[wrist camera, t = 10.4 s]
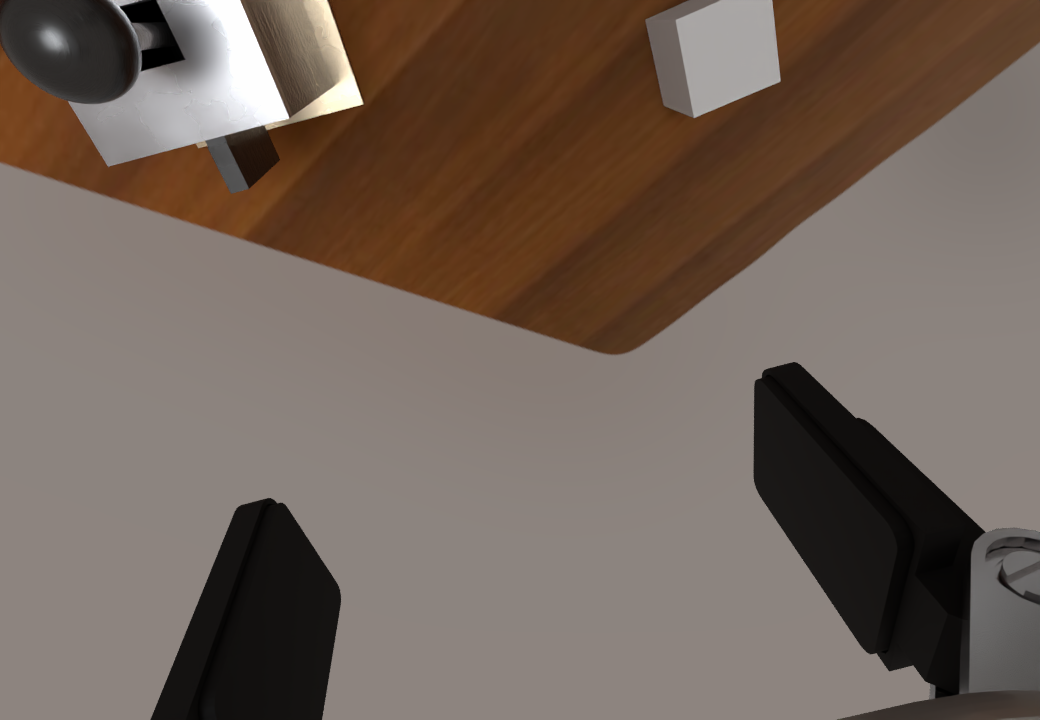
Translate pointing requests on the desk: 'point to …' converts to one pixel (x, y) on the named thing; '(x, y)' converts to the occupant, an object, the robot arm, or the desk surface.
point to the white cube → (713, 52)
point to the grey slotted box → (227, 83)
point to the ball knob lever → (82, 46)
